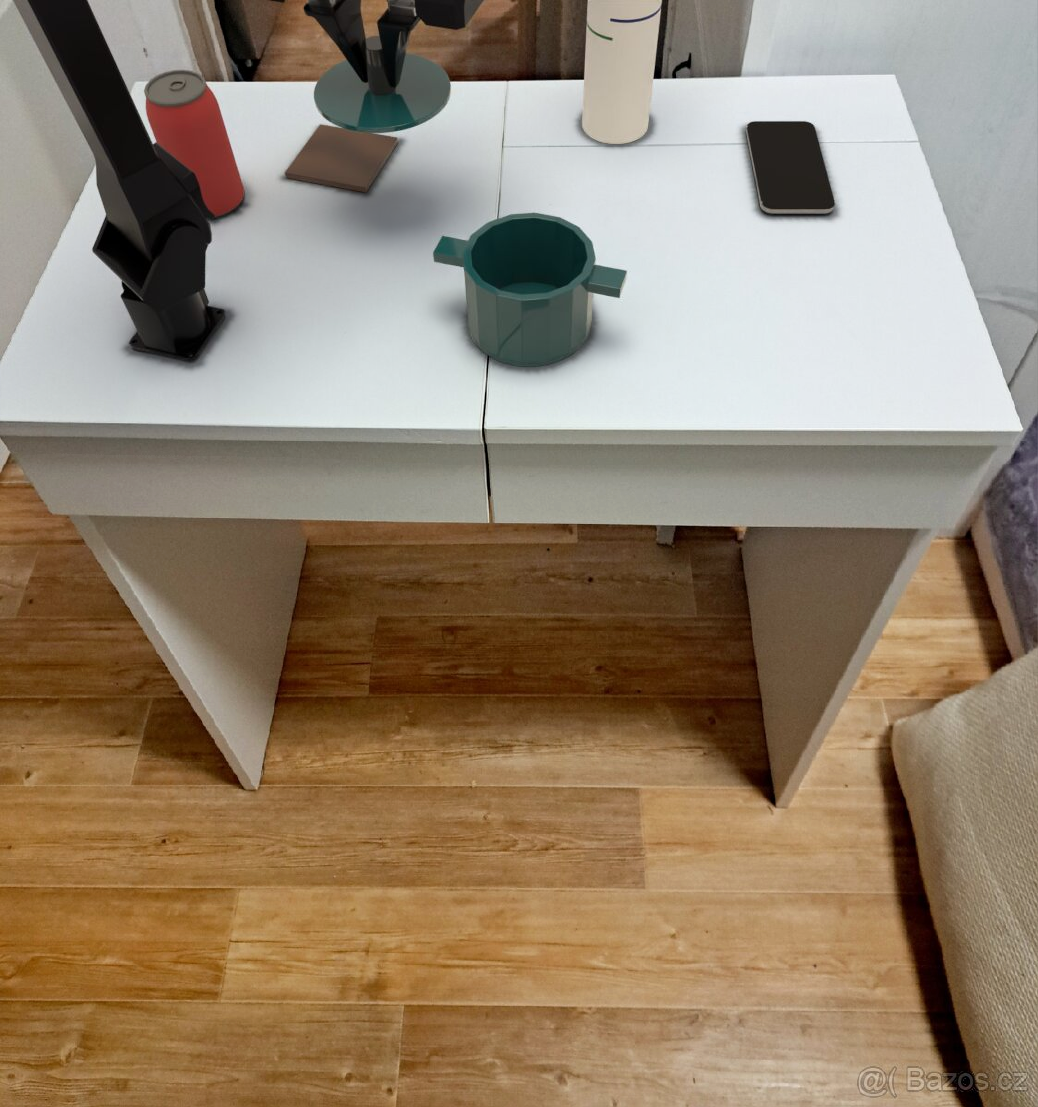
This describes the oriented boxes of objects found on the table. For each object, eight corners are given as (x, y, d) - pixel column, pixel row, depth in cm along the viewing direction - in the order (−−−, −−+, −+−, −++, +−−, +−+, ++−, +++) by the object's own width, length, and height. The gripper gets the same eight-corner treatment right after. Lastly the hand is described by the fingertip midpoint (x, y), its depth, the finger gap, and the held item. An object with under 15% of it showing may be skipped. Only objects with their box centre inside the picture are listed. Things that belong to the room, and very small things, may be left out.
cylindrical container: (643, 147, 98) (673, -129, 77) (577, 140, 98) (588, -135, 77) (651, 109, 101) (682, -163, 80) (587, 102, 102) (601, -169, 81)
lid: (422, 150, 79) (415, 92, 74) (293, 126, 81) (279, 69, 77) (470, 74, 85) (467, 17, 81) (349, 54, 87) (339, -2, 83)
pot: (602, 384, 79) (608, 317, 73) (423, 346, 82) (413, 278, 76) (632, 300, 85) (639, 231, 78) (463, 266, 88) (458, 198, 81)
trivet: (366, 192, 94) (365, 187, 94) (285, 177, 96) (284, 172, 95) (398, 142, 99) (397, 137, 98) (321, 129, 100) (320, 124, 100)
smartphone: (813, 120, 98) (837, 208, 90) (812, 126, 99) (835, 214, 91) (745, 120, 99) (762, 208, 90) (743, 126, 99) (760, 214, 91)
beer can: (253, 182, 95) (220, 67, 85) (236, 222, 92) (199, 108, 82) (191, 179, 96) (151, 64, 86) (172, 219, 92) (127, 104, 82)
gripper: (505, -151, 71) (510, 52, 84) (286, -177, 74) (323, 22, 88) (455, -88, 65) (468, 119, 78) (220, -120, 69) (270, 84, 82)
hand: (381, 82), depth 82 cm, fingers closed on lid, 2 cm apart
